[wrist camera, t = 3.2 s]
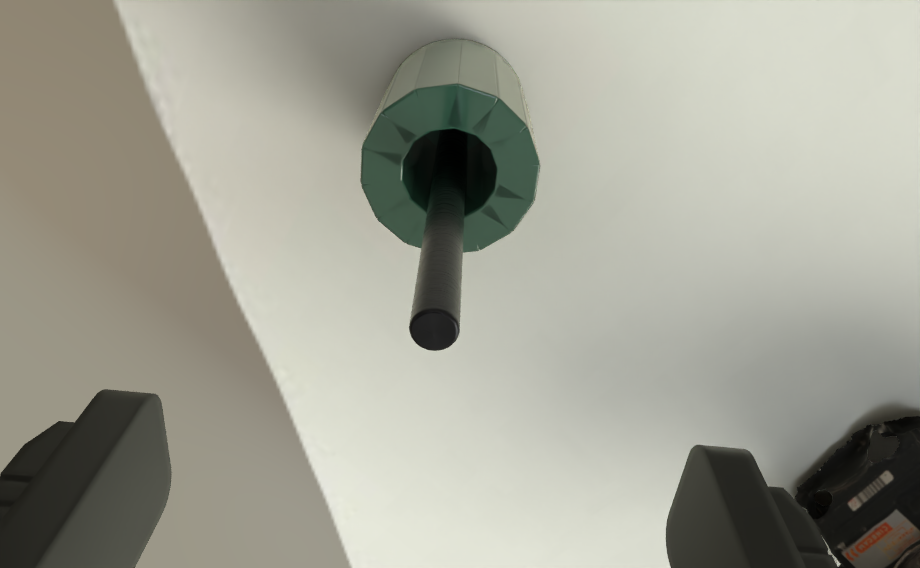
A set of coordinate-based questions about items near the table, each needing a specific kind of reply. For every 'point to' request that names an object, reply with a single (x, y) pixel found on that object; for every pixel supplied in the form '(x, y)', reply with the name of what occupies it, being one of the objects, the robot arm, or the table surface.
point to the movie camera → (870, 500)
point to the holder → (446, 107)
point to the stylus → (442, 248)
